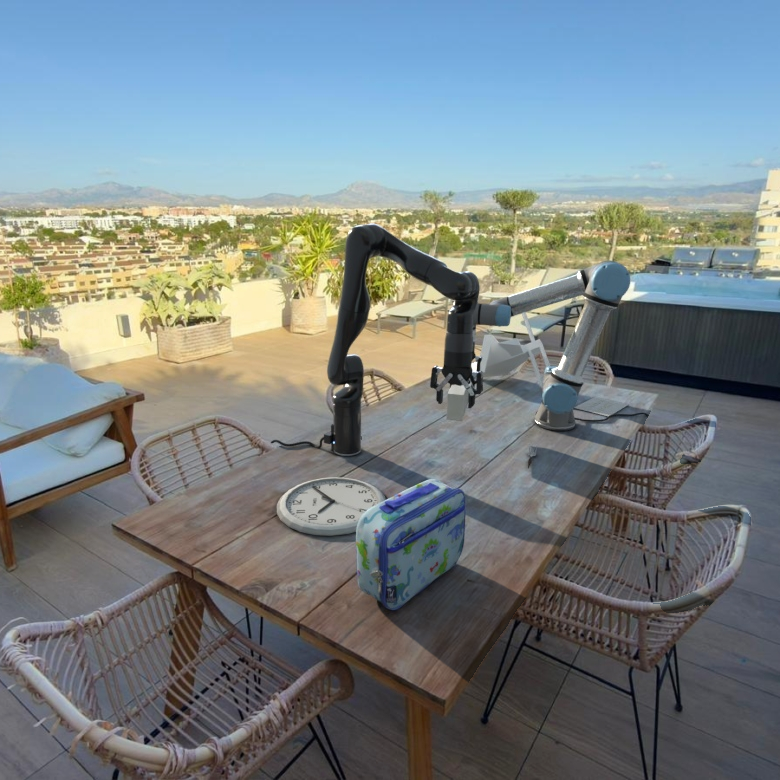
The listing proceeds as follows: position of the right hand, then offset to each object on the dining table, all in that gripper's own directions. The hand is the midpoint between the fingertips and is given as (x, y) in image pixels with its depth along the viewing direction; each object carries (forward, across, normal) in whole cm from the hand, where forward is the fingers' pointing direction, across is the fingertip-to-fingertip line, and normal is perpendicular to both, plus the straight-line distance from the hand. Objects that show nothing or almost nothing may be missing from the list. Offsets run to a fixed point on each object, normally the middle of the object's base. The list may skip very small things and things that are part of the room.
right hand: (461, 399), depth 199 cm
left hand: (-15, +4, -53) cm, 55 cm away
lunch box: (+11, +1, -96) cm, 97 cm away
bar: (+1, 0, -9) cm, 9 cm away
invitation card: (+11, +56, +40) cm, 70 cm away
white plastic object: (+11, +16, +61) cm, 64 cm away
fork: (+11, +26, -26) cm, 38 cm away
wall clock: (+10, -26, -71) cm, 76 cm away
